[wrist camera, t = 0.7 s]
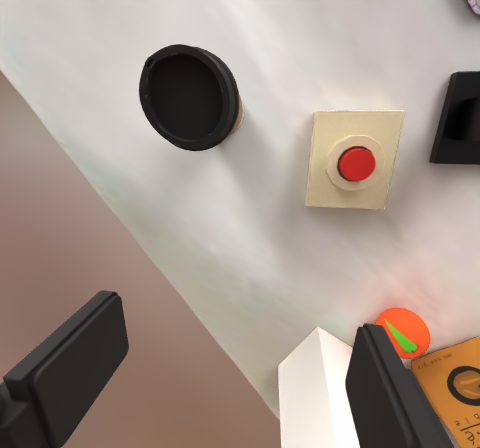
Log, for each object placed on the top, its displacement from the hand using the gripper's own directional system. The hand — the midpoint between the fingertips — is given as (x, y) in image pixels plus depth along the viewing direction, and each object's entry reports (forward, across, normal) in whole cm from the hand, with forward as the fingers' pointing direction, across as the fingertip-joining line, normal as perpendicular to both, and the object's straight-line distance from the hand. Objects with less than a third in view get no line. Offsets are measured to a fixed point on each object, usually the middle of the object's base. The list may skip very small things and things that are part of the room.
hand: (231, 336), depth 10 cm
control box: (+29, -10, -4) cm, 31 cm away
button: (+25, -10, -4) cm, 28 cm away
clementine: (+29, -21, +20) cm, 41 cm away
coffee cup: (+29, +7, -10) cm, 32 cm away
